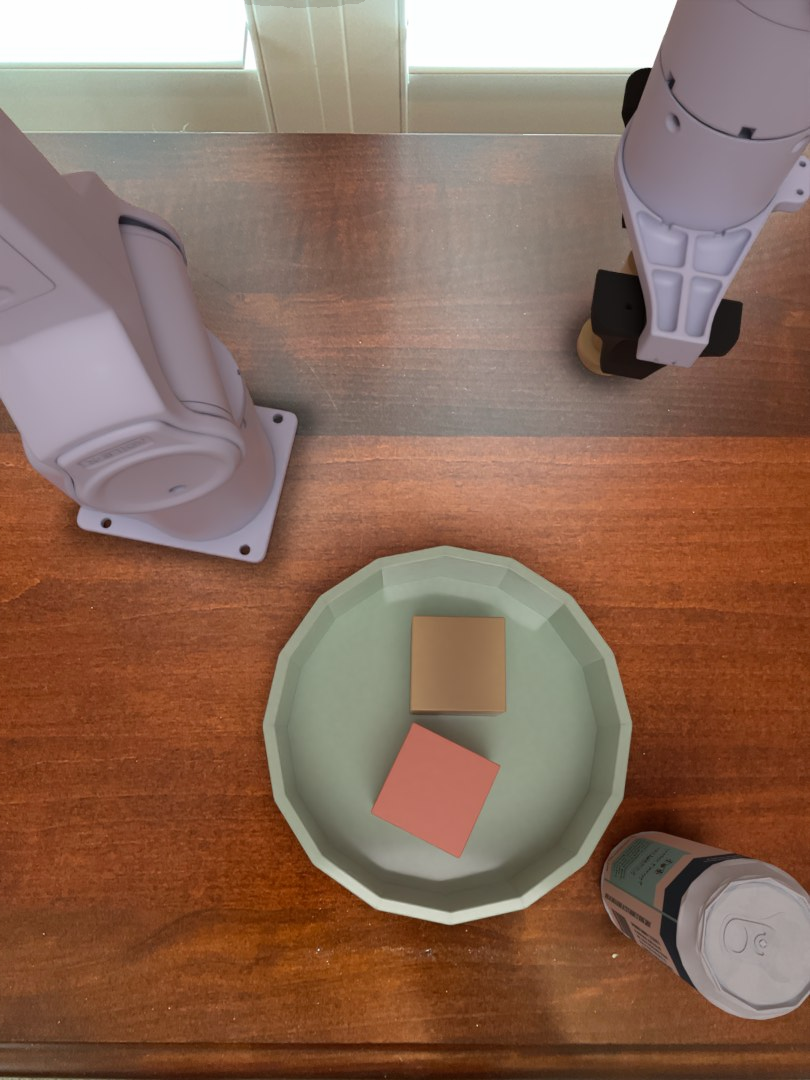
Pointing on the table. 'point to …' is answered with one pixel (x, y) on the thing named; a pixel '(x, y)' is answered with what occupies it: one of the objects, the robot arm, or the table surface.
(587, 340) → the tan tall round piece
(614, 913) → the beer can
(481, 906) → the dish
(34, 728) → the table surface
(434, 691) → the block maple
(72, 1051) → the table surface
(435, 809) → the block coral
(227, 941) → the table surface
